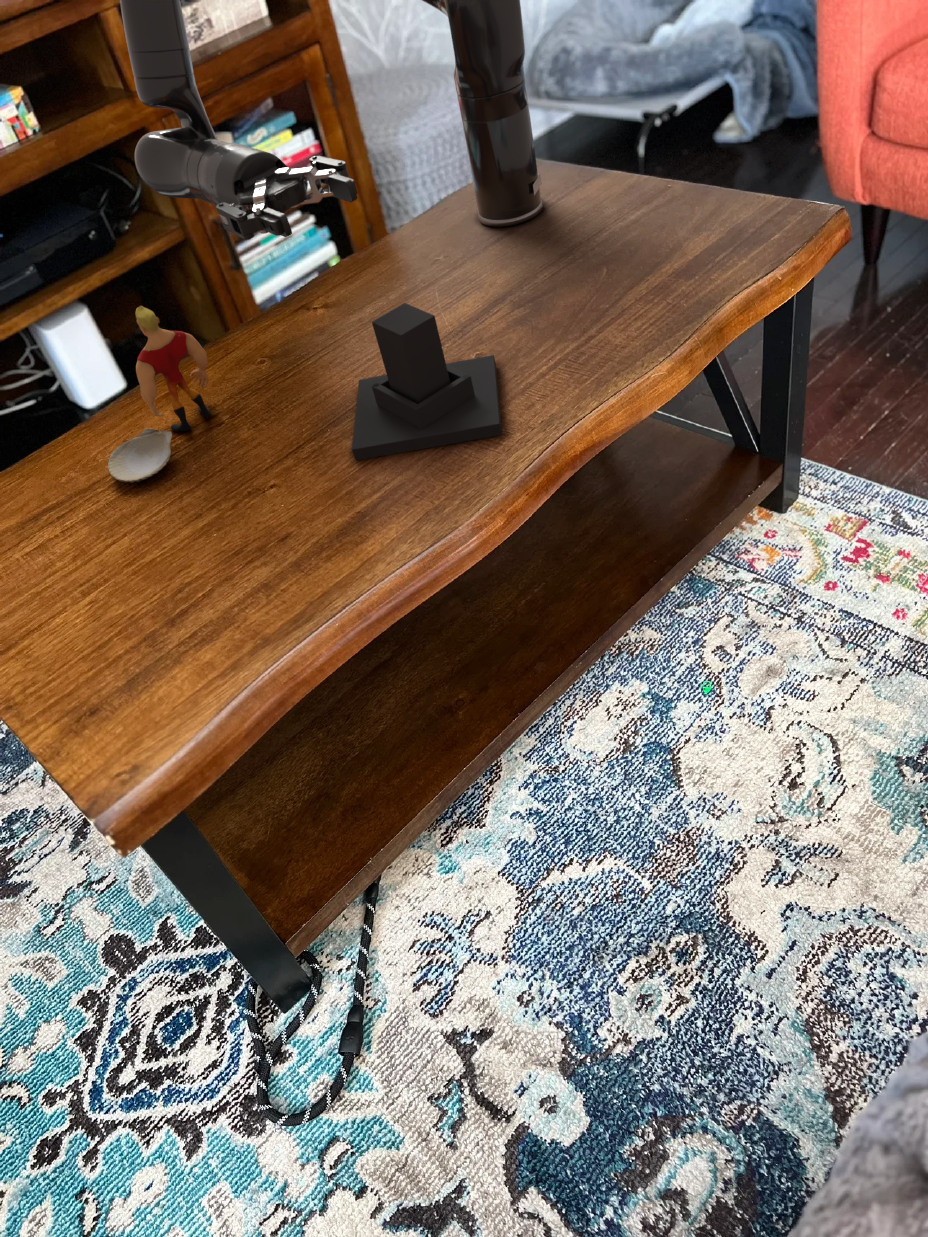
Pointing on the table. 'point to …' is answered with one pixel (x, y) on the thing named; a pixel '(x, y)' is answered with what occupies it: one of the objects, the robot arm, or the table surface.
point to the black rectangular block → (411, 352)
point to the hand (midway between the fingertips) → (320, 208)
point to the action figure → (169, 365)
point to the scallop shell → (141, 456)
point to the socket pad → (440, 432)
